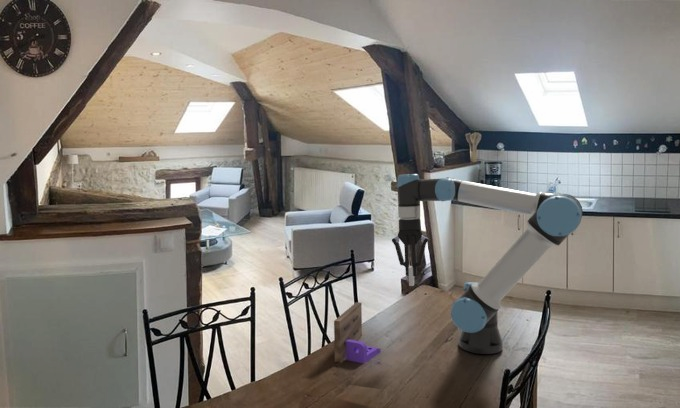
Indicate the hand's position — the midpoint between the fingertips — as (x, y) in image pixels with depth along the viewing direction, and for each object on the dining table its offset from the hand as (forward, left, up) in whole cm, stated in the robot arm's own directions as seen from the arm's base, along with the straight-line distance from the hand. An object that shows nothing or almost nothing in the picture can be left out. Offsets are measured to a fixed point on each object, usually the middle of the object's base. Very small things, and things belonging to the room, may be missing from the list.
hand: (411, 285), depth 175 cm
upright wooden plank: (+21, +7, -23) cm, 32 cm away
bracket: (+15, +11, -24) cm, 30 cm away
